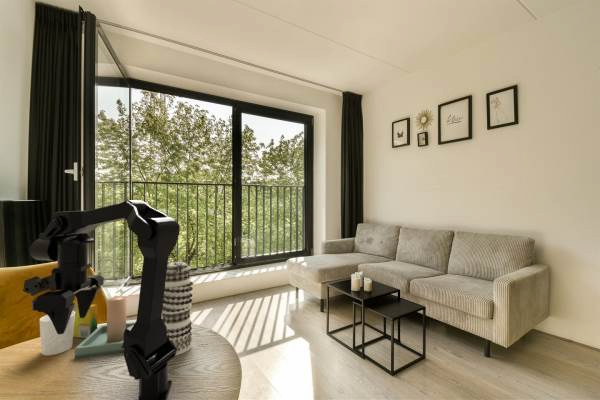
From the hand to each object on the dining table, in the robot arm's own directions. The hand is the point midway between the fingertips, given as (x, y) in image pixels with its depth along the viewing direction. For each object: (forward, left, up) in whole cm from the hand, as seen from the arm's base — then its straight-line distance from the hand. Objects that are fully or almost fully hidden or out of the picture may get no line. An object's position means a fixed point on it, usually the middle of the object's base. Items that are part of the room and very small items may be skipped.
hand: (72, 325), depth 67 cm
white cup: (+17, +12, -13) cm, 25 cm away
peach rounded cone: (+18, -3, -12) cm, 22 cm away
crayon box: (+25, +9, -13) cm, 30 cm away
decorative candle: (+9, -22, -13) cm, 27 cm away
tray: (+18, -3, -13) cm, 22 cm away
